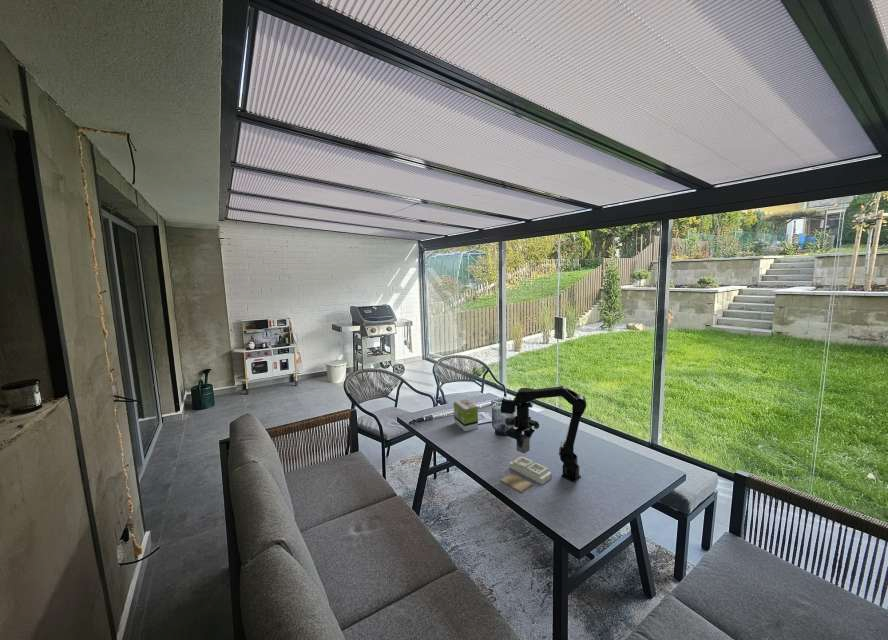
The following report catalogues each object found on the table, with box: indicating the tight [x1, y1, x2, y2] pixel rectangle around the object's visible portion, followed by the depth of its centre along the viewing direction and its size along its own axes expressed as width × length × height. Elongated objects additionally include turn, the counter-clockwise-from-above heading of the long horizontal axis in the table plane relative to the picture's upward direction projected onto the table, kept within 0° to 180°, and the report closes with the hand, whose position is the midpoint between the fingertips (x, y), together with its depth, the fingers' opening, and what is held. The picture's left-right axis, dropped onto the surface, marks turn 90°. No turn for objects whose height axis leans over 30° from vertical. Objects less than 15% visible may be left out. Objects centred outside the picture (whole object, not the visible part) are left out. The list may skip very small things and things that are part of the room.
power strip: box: [509, 455, 553, 485], centre depth 164 cm, size 19×8×4 cm, turn 39°
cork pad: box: [500, 472, 534, 494], centre depth 156 cm, size 12×8×1 cm, turn 39°
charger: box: [515, 433, 531, 454], centre depth 166 cm, size 4×4×7 cm
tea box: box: [453, 399, 479, 432], centre depth 218 cm, size 15×10×15 cm
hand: (523, 445), depth 166 cm, fingers closed on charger, 4 cm apart
